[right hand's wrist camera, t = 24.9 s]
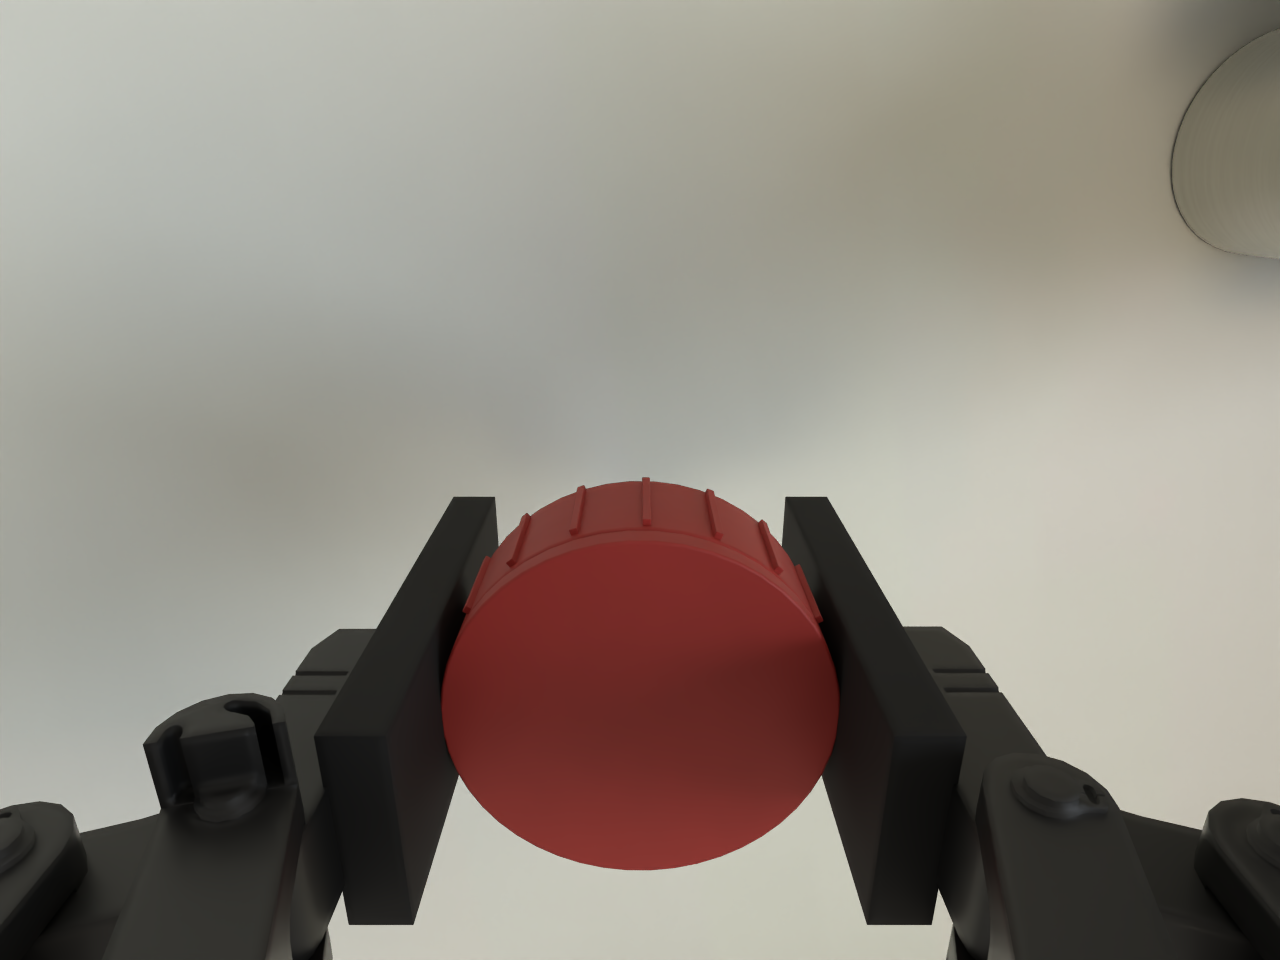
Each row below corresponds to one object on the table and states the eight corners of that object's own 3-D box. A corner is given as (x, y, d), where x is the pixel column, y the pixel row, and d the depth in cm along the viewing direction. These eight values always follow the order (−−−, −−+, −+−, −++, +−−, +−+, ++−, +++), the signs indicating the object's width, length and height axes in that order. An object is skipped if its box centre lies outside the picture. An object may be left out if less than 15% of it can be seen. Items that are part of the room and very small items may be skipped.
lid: (542, 805, 14) (525, 911, 12) (411, 535, 12) (366, 606, 10) (846, 726, 13) (883, 824, 11) (760, 426, 11) (786, 480, 9)
